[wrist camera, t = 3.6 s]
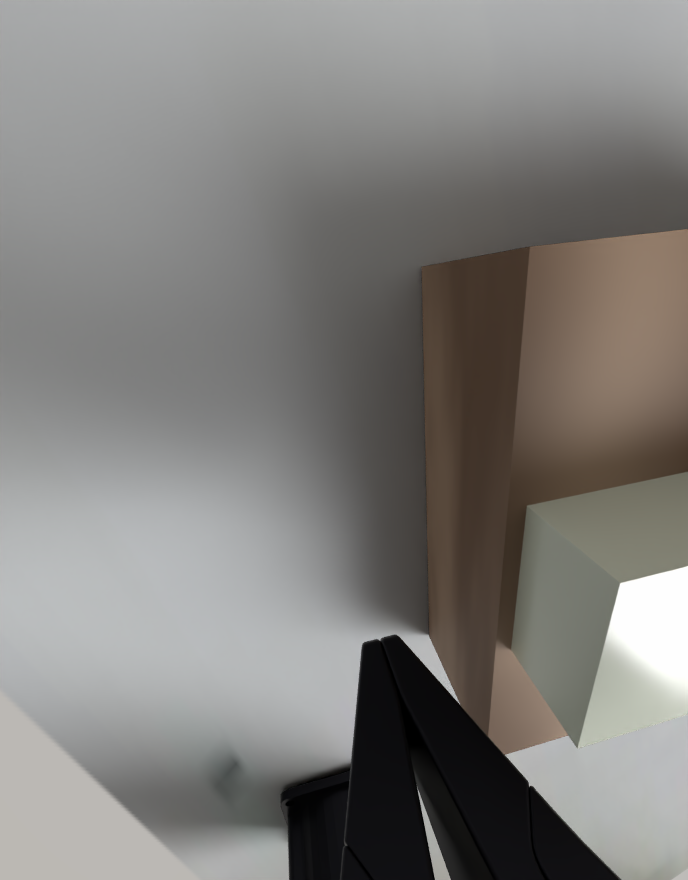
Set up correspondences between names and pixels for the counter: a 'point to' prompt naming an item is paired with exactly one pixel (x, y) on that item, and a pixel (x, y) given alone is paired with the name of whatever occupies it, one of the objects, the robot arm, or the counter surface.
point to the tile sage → (607, 607)
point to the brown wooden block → (538, 430)
